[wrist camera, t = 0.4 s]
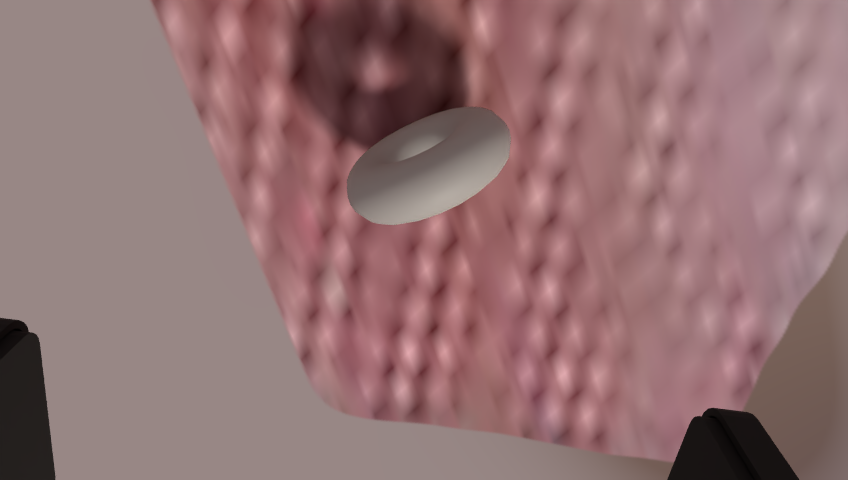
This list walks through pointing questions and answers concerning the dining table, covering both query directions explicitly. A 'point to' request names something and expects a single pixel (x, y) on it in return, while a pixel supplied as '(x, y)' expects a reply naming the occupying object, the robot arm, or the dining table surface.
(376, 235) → the dining table surface
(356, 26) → the dining table surface
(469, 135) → the donut
